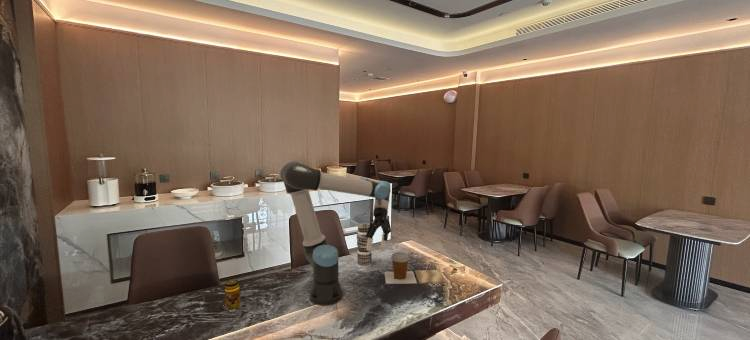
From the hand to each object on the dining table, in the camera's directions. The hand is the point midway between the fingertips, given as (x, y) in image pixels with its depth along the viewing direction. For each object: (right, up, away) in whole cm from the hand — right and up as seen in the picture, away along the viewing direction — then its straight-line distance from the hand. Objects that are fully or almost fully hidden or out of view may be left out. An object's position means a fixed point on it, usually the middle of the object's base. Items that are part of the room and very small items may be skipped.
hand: (375, 249), depth 158 cm
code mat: (+13, -18, +11) cm, 25 cm away
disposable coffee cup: (+13, -18, +11) cm, 25 cm away
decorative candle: (-7, -16, +28) cm, 34 cm away
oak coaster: (+29, -18, +12) cm, 36 cm away
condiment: (-64, -22, -17) cm, 70 cm away
